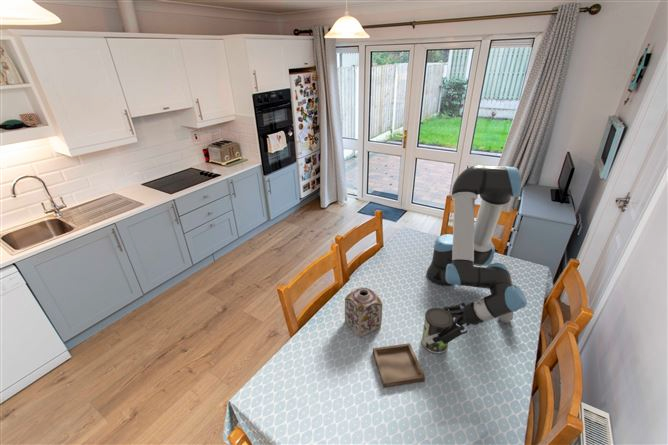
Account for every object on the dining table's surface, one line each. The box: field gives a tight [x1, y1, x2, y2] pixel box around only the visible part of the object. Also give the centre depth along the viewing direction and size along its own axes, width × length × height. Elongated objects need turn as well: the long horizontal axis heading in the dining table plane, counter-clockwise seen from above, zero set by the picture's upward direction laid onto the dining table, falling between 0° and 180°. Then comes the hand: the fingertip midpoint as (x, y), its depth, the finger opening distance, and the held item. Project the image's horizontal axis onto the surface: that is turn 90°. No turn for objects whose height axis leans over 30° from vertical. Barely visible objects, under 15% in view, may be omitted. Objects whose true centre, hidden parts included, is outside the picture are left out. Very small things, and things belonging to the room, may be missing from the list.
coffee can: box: [421, 307, 454, 354], centre depth 121 cm, size 10×10×14 cm
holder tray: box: [372, 342, 426, 389], centre depth 115 cm, size 15×15×2 cm
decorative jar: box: [344, 286, 383, 338], centre depth 130 cm, size 12×12×18 cm
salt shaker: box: [497, 312, 514, 324], centre depth 132 cm, size 6×6×13 cm
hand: (428, 330), depth 123 cm, fingers closed on coffee can, 10 cm apart
